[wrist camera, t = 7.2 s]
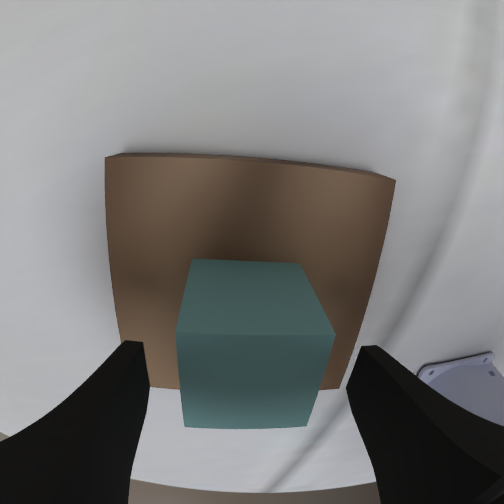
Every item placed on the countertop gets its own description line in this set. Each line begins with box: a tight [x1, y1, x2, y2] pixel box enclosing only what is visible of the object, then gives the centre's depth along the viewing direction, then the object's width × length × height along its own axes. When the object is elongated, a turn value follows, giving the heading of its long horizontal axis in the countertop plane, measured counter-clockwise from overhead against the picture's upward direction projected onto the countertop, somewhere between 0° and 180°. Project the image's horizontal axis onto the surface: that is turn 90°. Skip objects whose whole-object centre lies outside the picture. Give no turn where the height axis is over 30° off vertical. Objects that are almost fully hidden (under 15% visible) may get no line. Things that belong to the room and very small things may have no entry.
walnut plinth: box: [105, 153, 396, 390], centre depth 14 cm, size 12×12×2 cm
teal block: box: [175, 258, 336, 429], centre depth 11 cm, size 4×4×5 cm
